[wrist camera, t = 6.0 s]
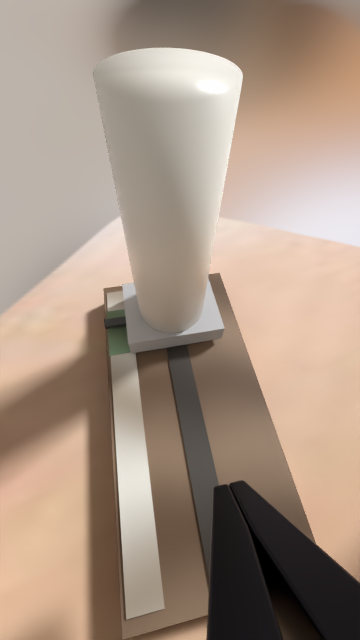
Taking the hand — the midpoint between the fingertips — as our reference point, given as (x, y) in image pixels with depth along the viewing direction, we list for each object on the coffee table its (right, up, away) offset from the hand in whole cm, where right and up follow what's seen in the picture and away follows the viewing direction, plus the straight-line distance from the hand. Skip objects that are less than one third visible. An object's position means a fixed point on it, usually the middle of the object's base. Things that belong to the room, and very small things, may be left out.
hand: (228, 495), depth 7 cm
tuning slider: (-2, +5, +9) cm, 10 cm away
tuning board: (-1, 0, +8) cm, 8 cm away
